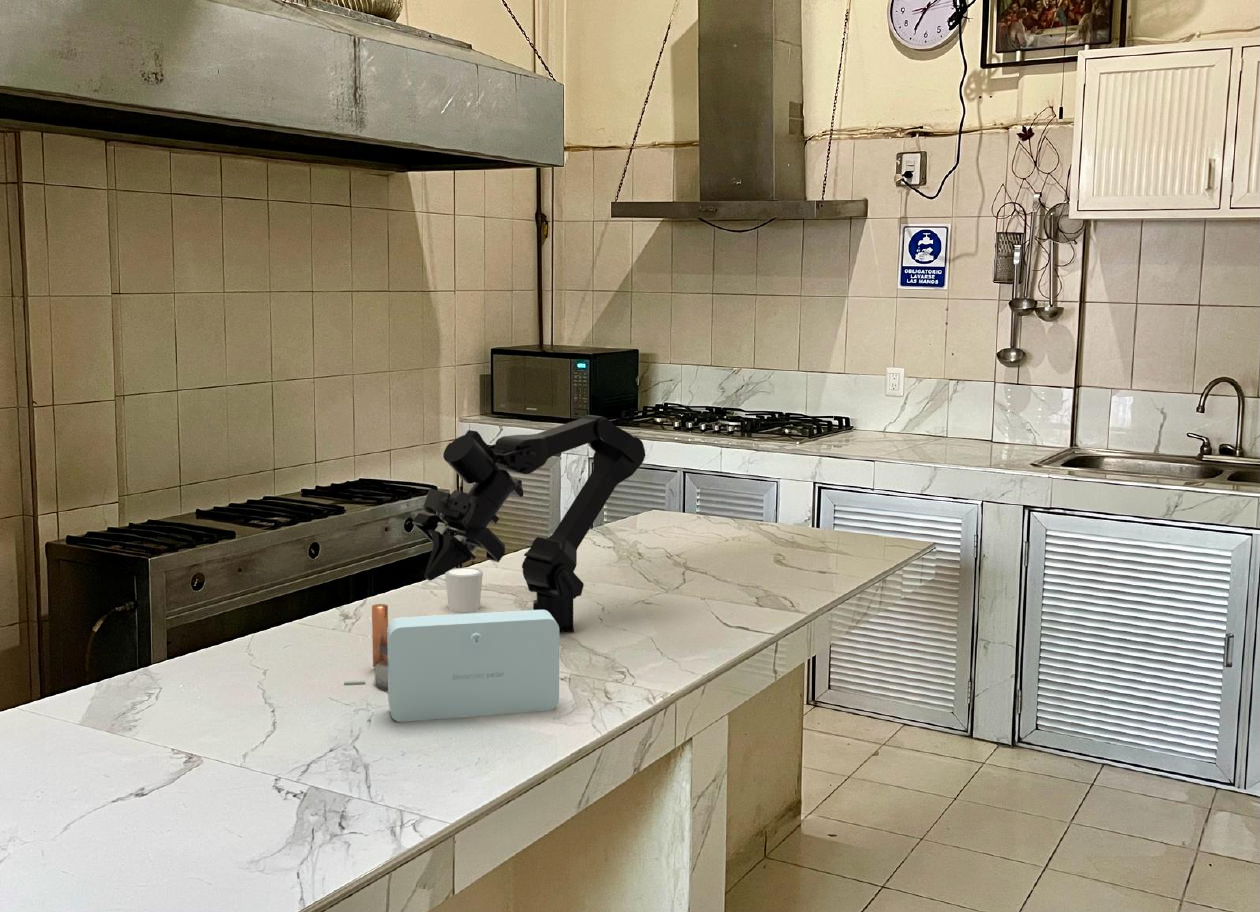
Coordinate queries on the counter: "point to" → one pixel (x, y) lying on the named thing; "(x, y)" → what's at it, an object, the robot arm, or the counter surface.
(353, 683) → the pale green bar
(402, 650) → the pale blue box
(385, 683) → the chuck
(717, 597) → the counter surface
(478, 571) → the white cup
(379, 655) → the copper rod with bracket
